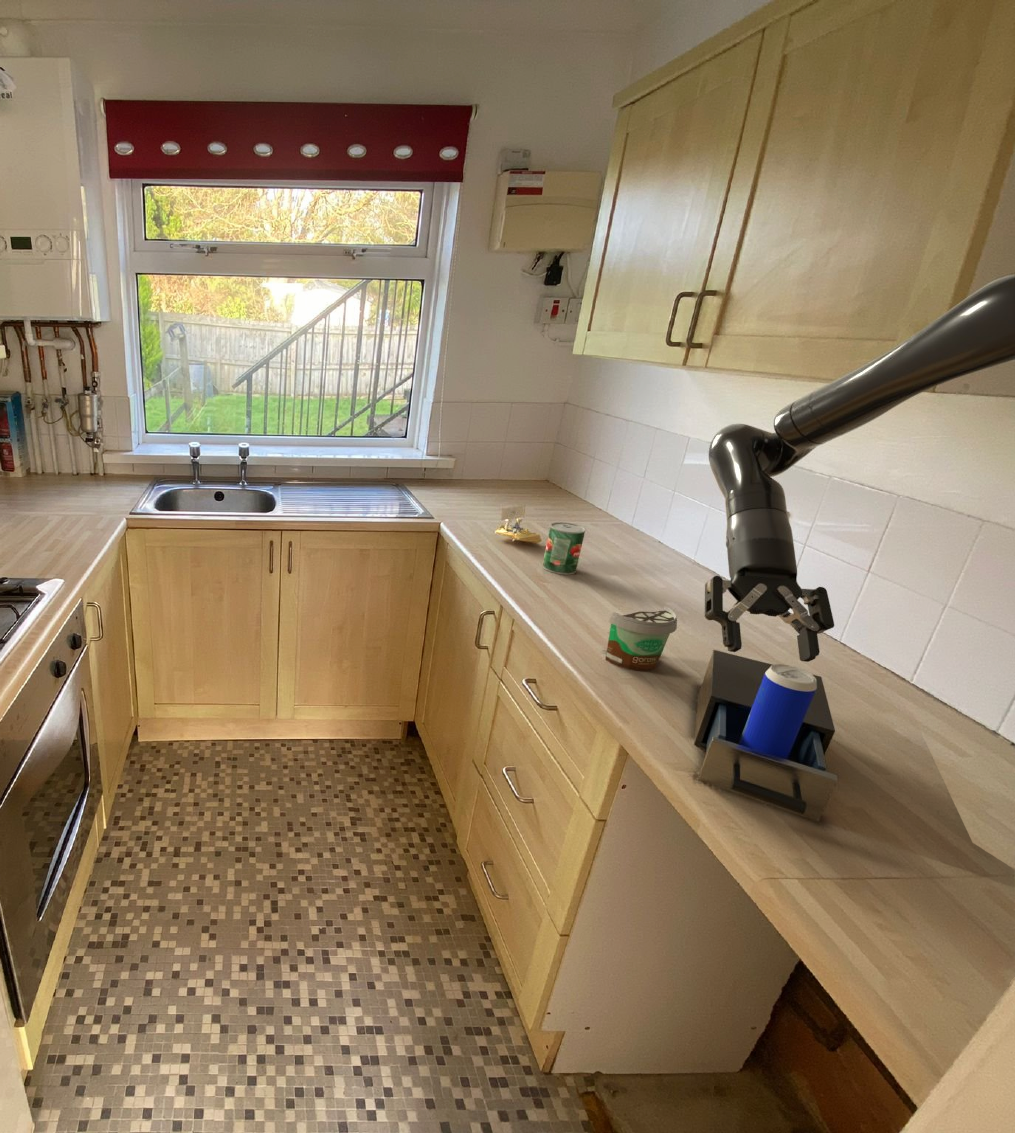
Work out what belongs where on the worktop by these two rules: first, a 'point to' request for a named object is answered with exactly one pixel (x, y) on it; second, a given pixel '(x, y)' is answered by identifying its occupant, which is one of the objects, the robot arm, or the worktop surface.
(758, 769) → the drawer
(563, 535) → the canned tomato
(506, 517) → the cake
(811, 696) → the beverage can
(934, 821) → the worktop surface
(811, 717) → the cabinet
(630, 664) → the food container
